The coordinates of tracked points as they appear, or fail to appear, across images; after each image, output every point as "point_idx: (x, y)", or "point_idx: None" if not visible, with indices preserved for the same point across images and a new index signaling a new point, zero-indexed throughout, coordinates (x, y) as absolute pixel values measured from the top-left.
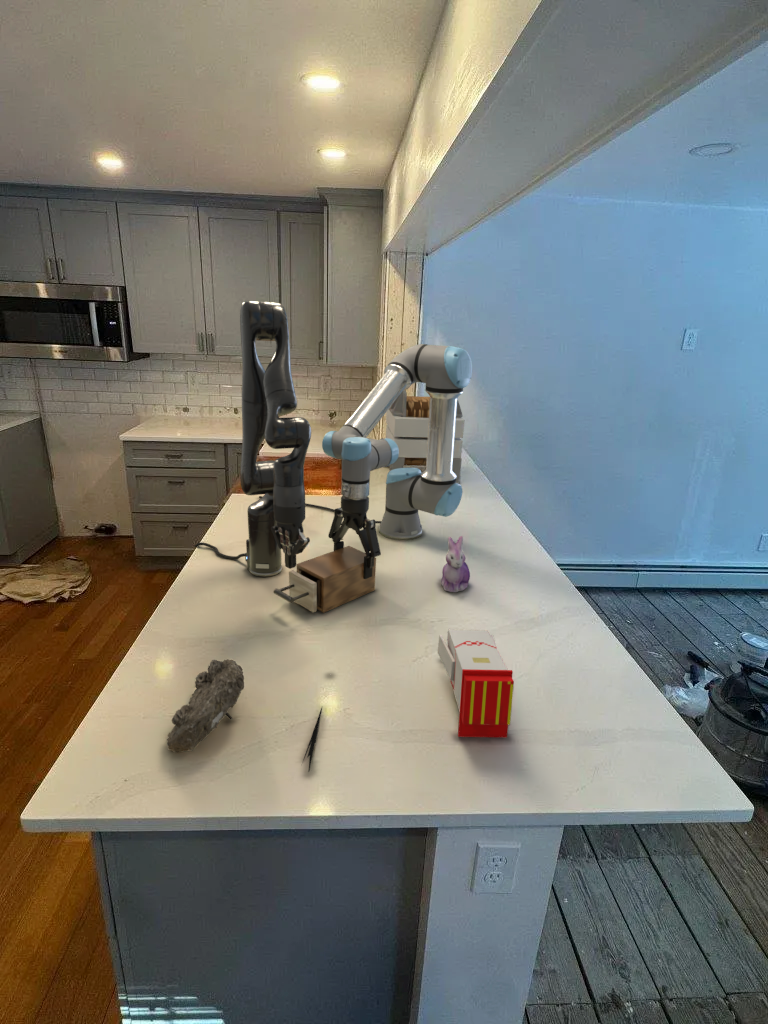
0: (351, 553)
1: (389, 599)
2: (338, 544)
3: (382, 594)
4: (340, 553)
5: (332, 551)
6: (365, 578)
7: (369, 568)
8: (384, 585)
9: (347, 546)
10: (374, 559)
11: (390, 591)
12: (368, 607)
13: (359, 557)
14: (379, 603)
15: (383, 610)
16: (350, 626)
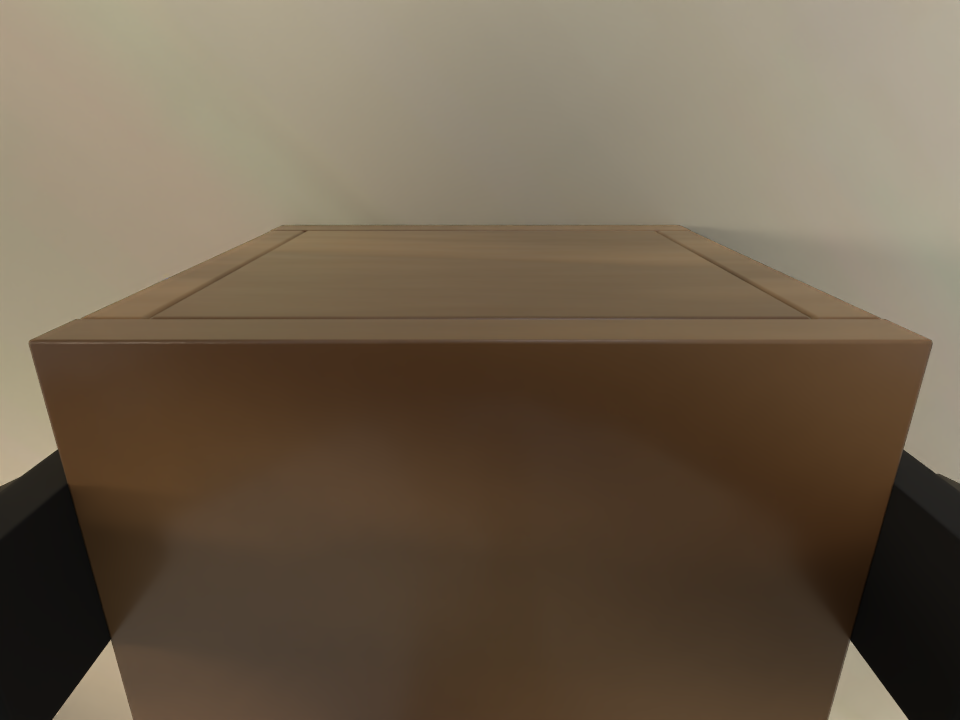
0: (405, 552)
1: (901, 249)
2: (26, 688)
3: (789, 227)
4: (282, 675)
5: (134, 715)
6: None
7: None
8: (686, 54)
9: (57, 395)
10: (904, 378)
11: (820, 112)
12: None
13: (646, 562)
14: None
15: (956, 425)
16: (871, 703)
